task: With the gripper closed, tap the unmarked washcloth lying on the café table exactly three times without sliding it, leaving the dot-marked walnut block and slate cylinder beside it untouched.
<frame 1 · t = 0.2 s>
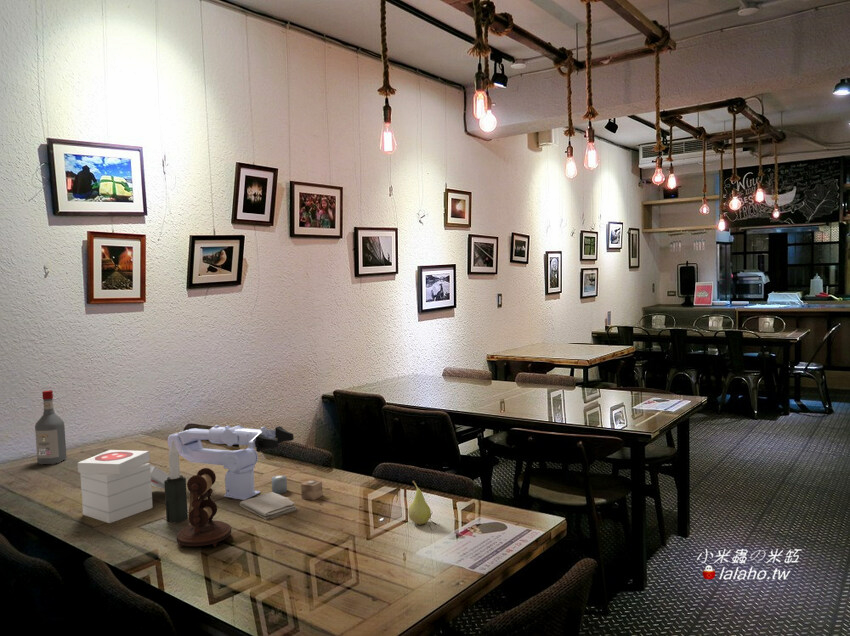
hand: (285, 440, 206), 21 cm above the table, tool horizontal, fingers open, 7 cm apart
liquor: (52, 462, 264), on the table
pizza boxes: (133, 506, 209), on the table
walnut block: (312, 497, 213), on the table
fruit: (419, 523, 188), on the table
washcloth: (268, 510, 204), on the table
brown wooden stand: (204, 540, 180), on the table
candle: (177, 520, 196), on the table
slate cylinder: (279, 491, 219), on the table
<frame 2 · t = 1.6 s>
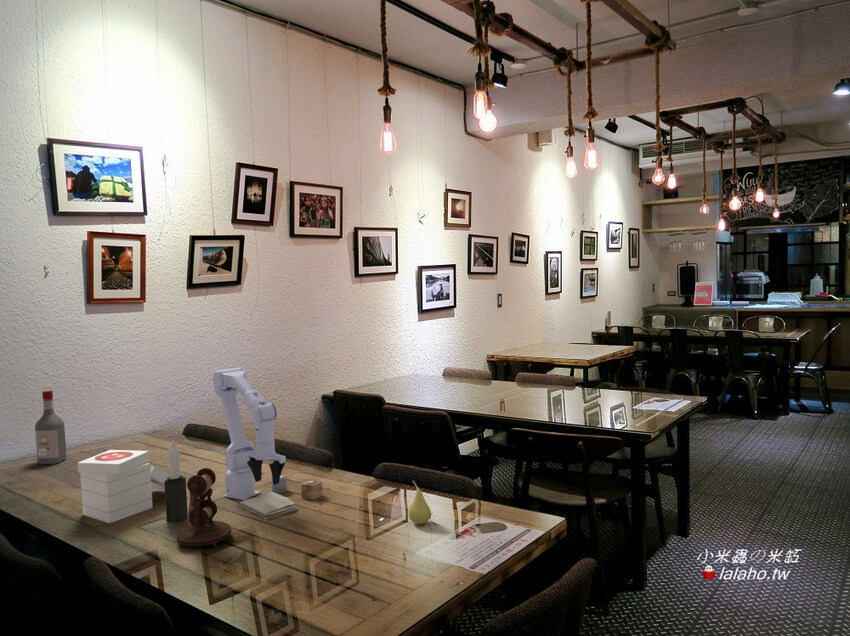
hand: (267, 482, 203), 8 cm above the table, tool pointing down, fingers open, 7 cm apart
nothing on the table moved.
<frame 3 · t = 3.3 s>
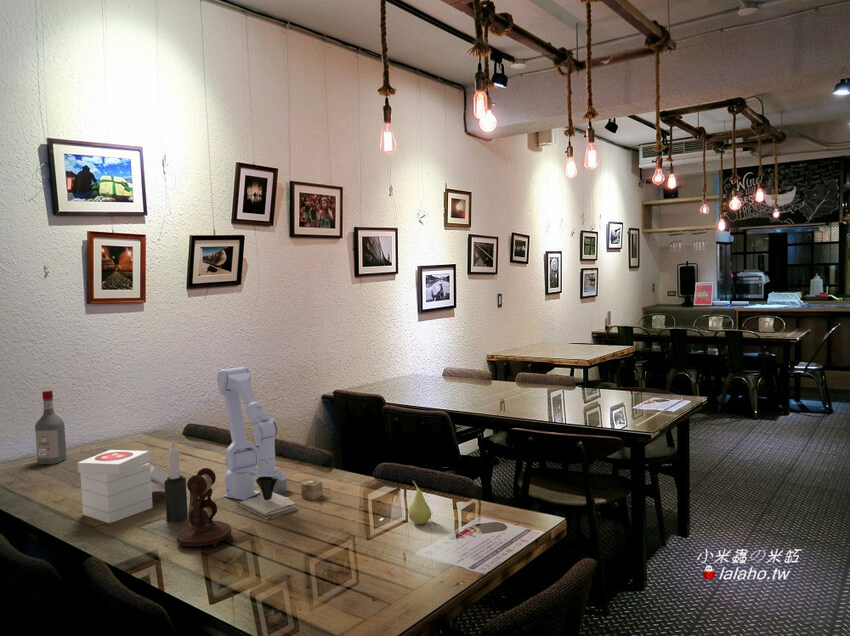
hand: (267, 499, 204), 3 cm above the table, tool pointing down, fingers closed
nothing on the table moved.
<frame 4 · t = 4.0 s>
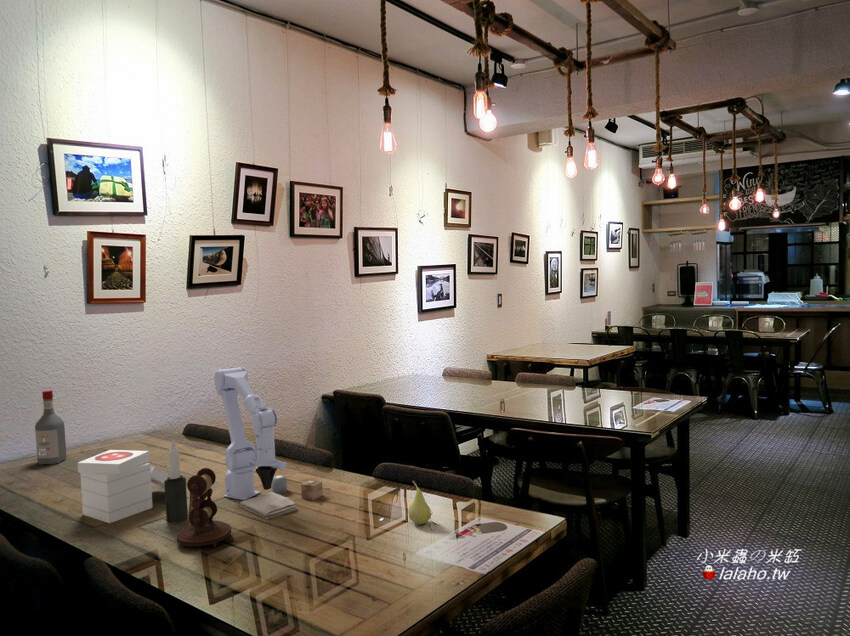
hand: (267, 488, 203), 6 cm above the table, tool pointing down, fingers closed
nothing on the table moved.
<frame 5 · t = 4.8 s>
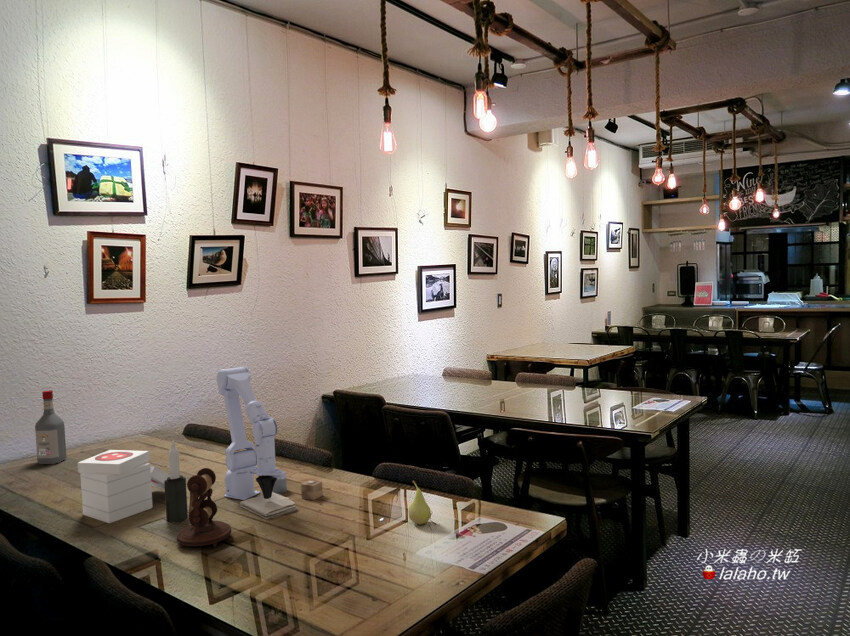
hand: (267, 497, 204), 3 cm above the table, tool pointing down, fingers closed
nothing on the table moved.
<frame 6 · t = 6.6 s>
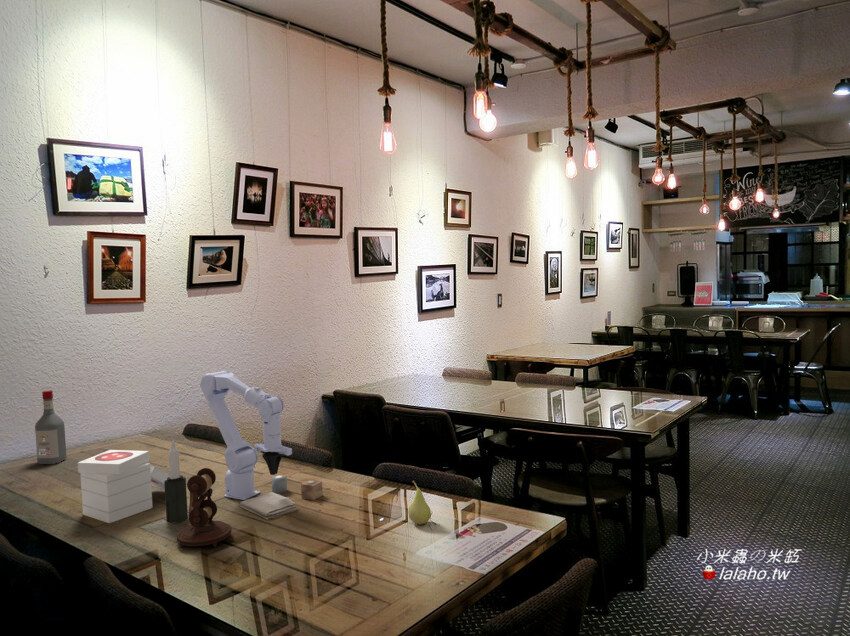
hand: (273, 474, 209), 9 cm above the table, tool pointing down, fingers closed
nothing on the table moved.
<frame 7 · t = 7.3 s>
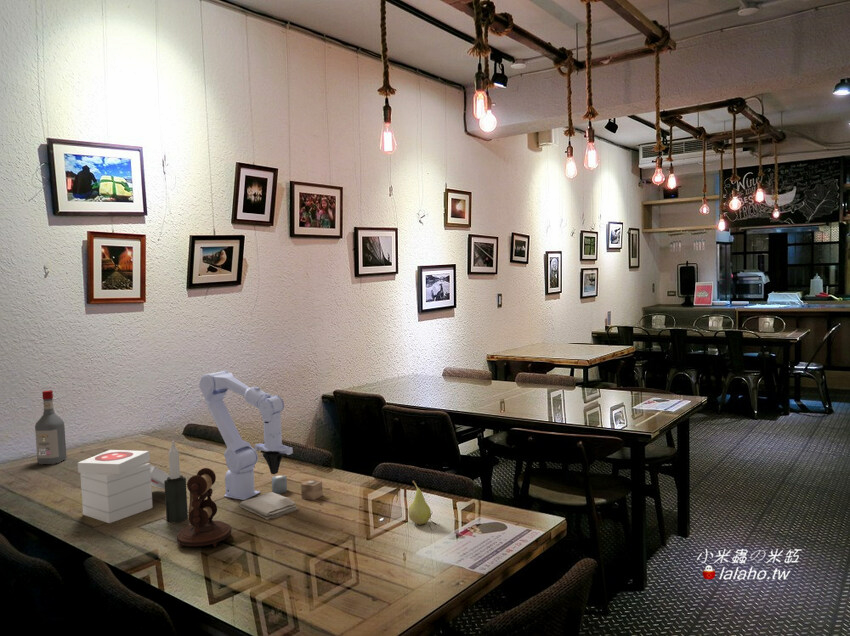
hand: (274, 473, 209), 9 cm above the table, tool pointing down, fingers closed
nothing on the table moved.
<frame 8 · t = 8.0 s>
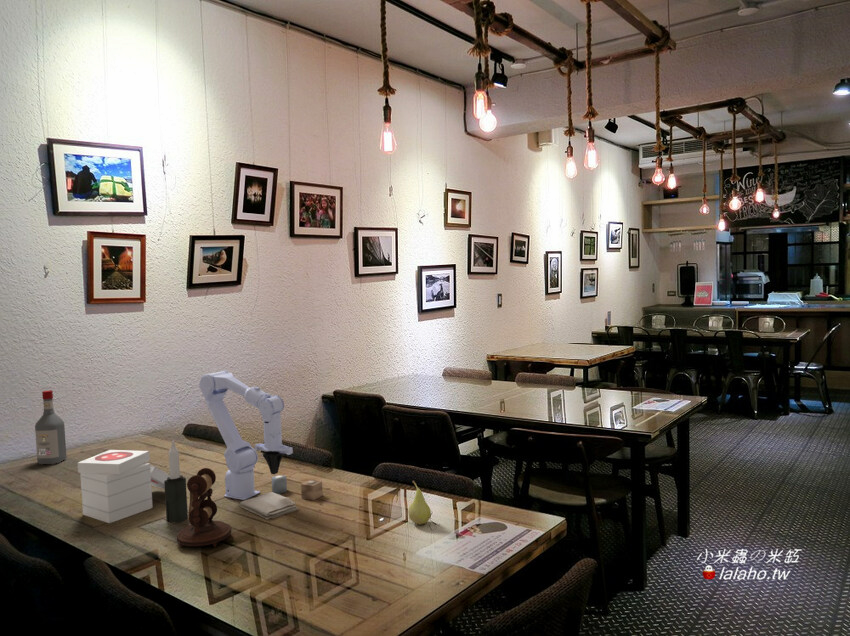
hand: (274, 473, 209), 9 cm above the table, tool pointing down, fingers closed
nothing on the table moved.
at the end: washcloth moved 0.8 cm from its start; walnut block moved 0.1 cm from its start; slate cylinder moved 0.0 cm from its start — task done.
